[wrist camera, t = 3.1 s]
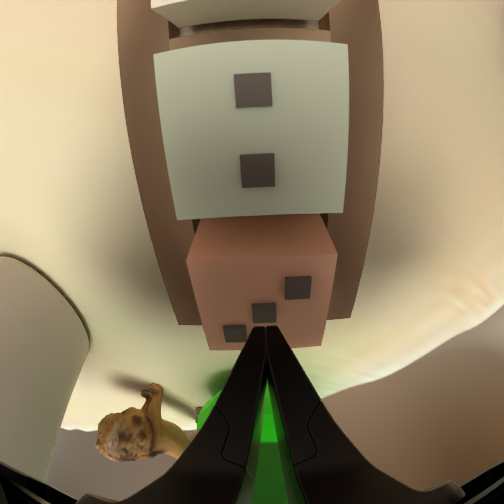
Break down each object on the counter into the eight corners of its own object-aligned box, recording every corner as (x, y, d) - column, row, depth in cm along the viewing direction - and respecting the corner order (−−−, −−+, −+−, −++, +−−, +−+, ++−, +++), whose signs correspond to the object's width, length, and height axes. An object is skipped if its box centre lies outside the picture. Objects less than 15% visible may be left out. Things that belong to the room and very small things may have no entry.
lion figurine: (106, 379, 23) (85, 451, 16) (124, 365, 21) (99, 452, 14) (213, 425, 29) (208, 488, 22) (241, 417, 27) (240, 487, 19)
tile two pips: (321, 55, 8) (350, 43, 5) (321, 179, 10) (344, 215, 8) (181, 62, 8) (150, 53, 5) (195, 185, 11) (175, 223, 8)
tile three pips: (319, 213, 11) (339, 257, 9) (311, 300, 14) (321, 349, 11) (200, 219, 11) (184, 264, 9) (216, 304, 14) (209, 353, 11)
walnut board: (349, -68, 4) (359, -80, 3) (344, 300, 16) (350, 317, 15) (134, -56, 4) (122, -67, 3) (183, 306, 16) (178, 324, 15)
